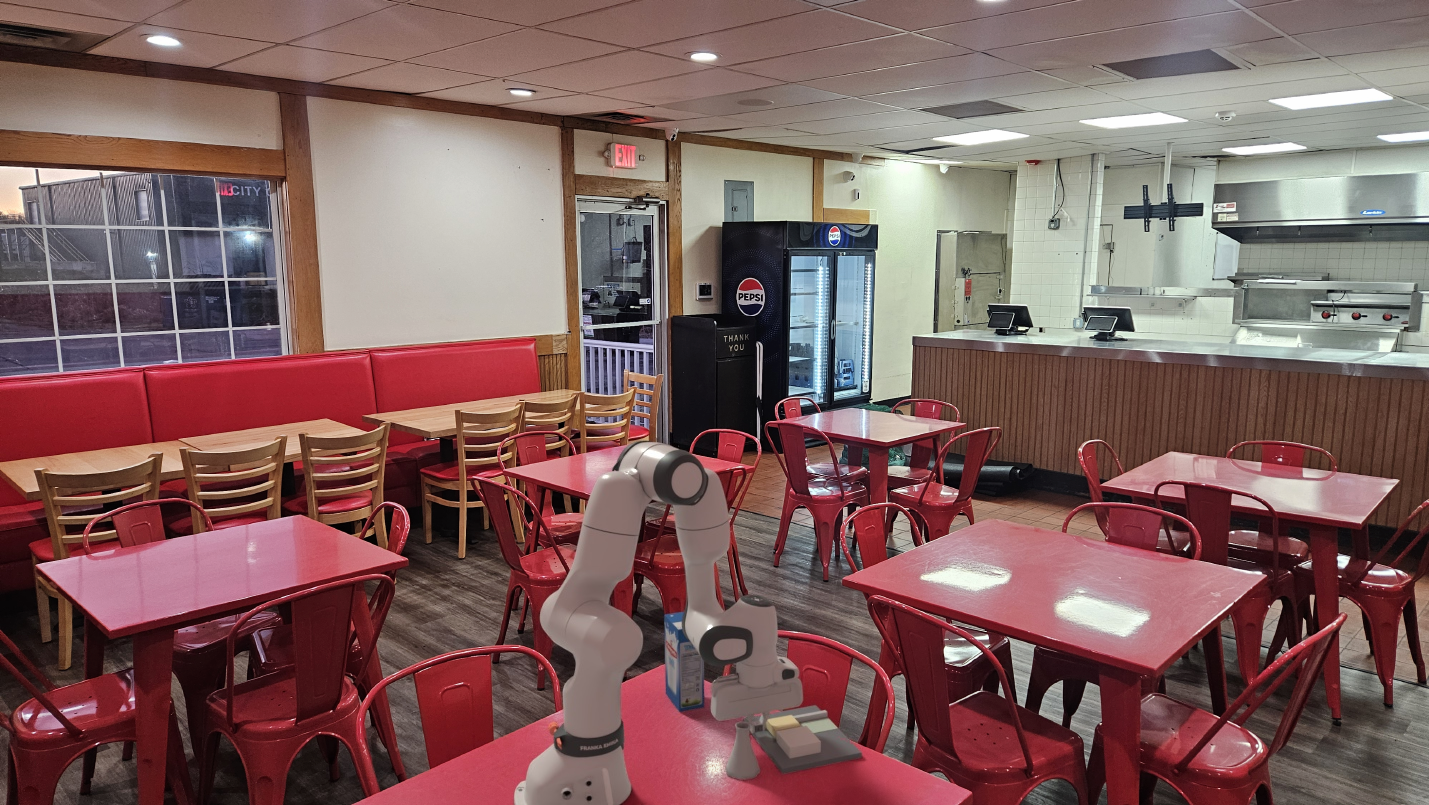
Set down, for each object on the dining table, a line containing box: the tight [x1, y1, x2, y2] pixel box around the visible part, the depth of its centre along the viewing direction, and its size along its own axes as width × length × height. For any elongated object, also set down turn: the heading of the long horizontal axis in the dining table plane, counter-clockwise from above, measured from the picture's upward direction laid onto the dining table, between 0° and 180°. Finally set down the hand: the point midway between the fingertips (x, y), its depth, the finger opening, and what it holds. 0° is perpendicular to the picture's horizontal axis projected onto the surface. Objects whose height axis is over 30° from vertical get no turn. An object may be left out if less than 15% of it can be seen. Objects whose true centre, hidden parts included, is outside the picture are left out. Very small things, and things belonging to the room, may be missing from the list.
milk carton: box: [663, 611, 705, 713], centre depth 214 cm, size 10×6×20 cm, turn 22°
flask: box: [725, 720, 762, 780], centre depth 185 cm, size 7×7×10 cm
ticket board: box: [742, 704, 863, 775], centre depth 197 cm, size 18×22×4 cm
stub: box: [767, 715, 801, 739], centre depth 198 cm, size 6×5×2 cm
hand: (757, 730), depth 196 cm, fingers closed
